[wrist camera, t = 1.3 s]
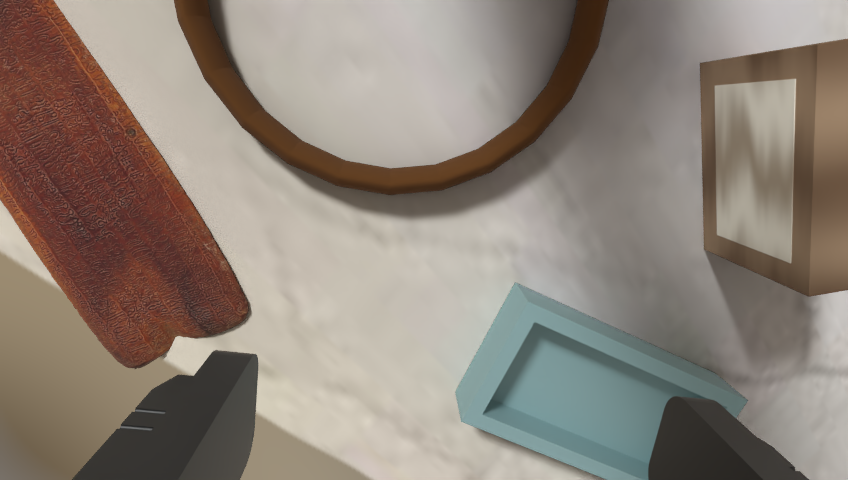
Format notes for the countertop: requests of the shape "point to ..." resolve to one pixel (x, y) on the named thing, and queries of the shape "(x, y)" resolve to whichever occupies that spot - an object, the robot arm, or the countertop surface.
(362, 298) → the countertop surface
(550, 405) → the light blue rectangular tray
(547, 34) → the countertop surface
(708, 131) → the picture frame
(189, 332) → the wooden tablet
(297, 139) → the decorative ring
